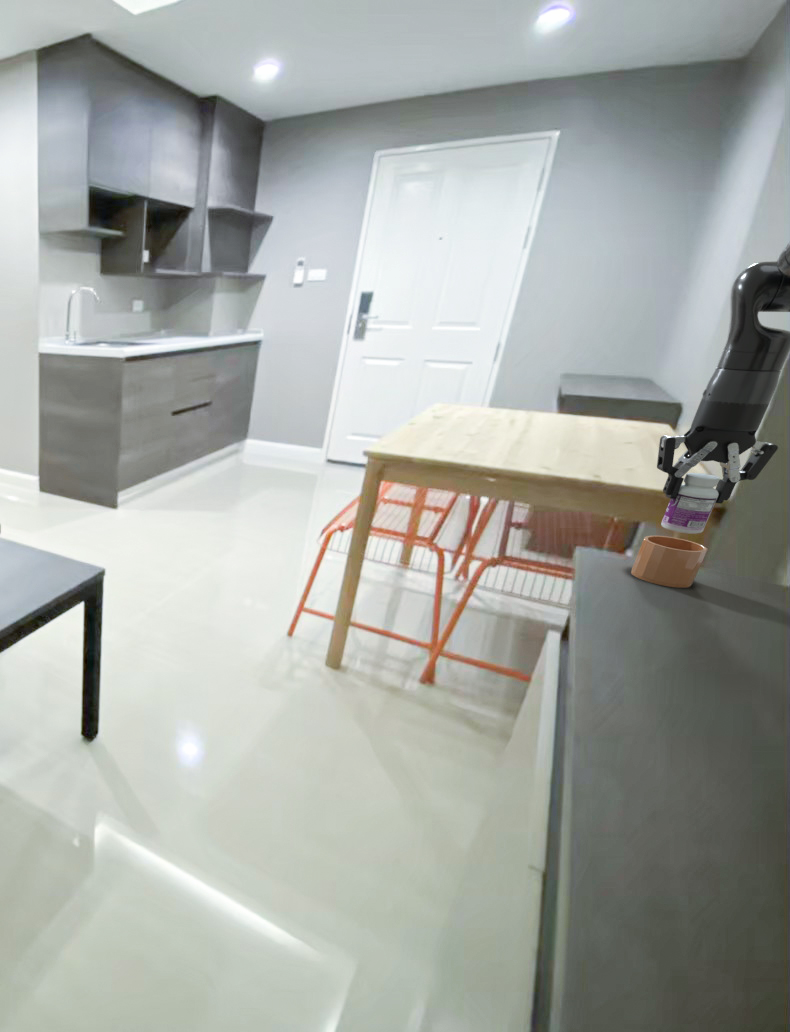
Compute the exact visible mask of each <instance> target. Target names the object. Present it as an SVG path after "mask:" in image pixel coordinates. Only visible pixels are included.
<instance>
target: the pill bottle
mask: <svg viewBox="0 0 790 1032" xmlns="http://www.w3.org/2000/svg"><path fill="white" fill-rule="evenodd" d="M684 476H685V477H683V478H684V480H683V482H684V483H682V484H681V487H680V489H679V492H678V494H677V497H676V498H675V499H671V498H670V500H669V501H668V505H667V507H666V509H665V512H664V515H663V518H662V520H661V523H660V525H661V527H662V528H663V529H665V530H669V531H672V532H676V533H681V534H688V535H689V534H691V535H697V534H701V533H703V532H704V531H705V527H706V525H707V523H708V520H709V518H710V515H711V513H712V511H713V510H714V506H715V504H716V503H715V502H716V500H717V498H718V495H719V494H718V491H717V490H716V486H717V484H718V482H719V479H721V478H720V477H719V476H717V475H713V474H708V473H699V472H687V473H686V474H685V475H684Z"/></svg>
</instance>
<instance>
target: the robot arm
mask: <svg viewBox="0 0 790 1032" xmlns="http://www.w3.org/2000/svg"><path fill="white" fill-rule="evenodd" d="M759 313H790V241H789V242H788V243H787V244H786V245H785V246H784V247H783V249H782V250H781V252H780V253H779V254H778V257H777V260H775V261H760V262H755V263H752V264H751V265H749V266H748V267H746V268H745V269H743V270H742V271H741V272H740V273H739V274H738V275H737V276H736V278H735V279H734V281H733V282H732V284H731V288H730V295H729V324H728V332H727V338H726V342H725V345H724V347H723V351H722V352H721V355H720V358H719V360H718V362H717V365H716V368H715V369H714V372H713V373H712V375H711V377H710V379H709V380H708V382H707V384H706V386H705V389H704V390H703V392H702V396H701V399H700V402H699V404H698V407H697V409H696V412H695V414H694V416H693V418H692V419H693V420H692V422H691V425H690V428H689V429H688V430H687V431H686V432H685V433H684V434H683V435H674V436H673V435H671V436H670V435H667V434H664V435H662V436H660V438H659V444H658V452H657V462H656V468H657V470H660V471H662V472H664V473H665V474H667V479H666V481H665V484H664V486H663V489H662V492H663V494H664V496H665V497H666V498H668V499H670V500H671V499H675V498H676V497H677V494H678V492H679V489H680V487H681V485H682V484H683V482H684V478H685V477H684V476H686V474H687V473H689V471H690V470H691V469H692V468H694V467H696V466H697V465H698V464H699V463H700V462H712V461H713V462H717V463H719V466H720V467H721V473H722V478H720V479H719V481H718V484H717V485H716V486H715V489H716V490H717V491H718V494H719V495H718V498H717V500H716V502H715V504H723V503H724V502H725V501H728V500H729V499H730V498H731V495H732V494H733V491H734V489H735V486H736V485H737V483H739V482H741V481H746V480H748V481H753V480H755V479H757V477H758V476H759V475H760V473H762V470H763V469H764V468H765V466H766V465H767V464H768V462H769V461H770V460H771V458H772V457H773V456H774V455H775V454H776V452H777V451H778V449H779V446H778V445H776V444H774V443H772V442H769V441H768V442H767V441H759V440H757V439H756V433H757V431H758V430H759V428H760V426H761V423H762V422H763V419H764V416H765V414H766V413H767V410H768V408H769V405H770V402H771V401H772V399H773V396H774V394H775V392H776V389H777V387H778V383H779V378H780V376H781V373H782V370H783V368H784V365H785V363H786V360H787V359H788V357H789V354H790V330H786V329H781V328H775V327H770V326H766V325H764V324H762V323H761V321H760V319H759ZM682 443H683V444H684V446H685V447H686V451H685V452H684V453H683V454H681V455H680V457H679V458H678V460H677V461H676V463H674V457H675V450H677V449H679V448H680V446H681V445H682ZM749 449H750V453H751V455H750V456H749V458H748V460H747V461H746V462H745V464H744V465H743V467H742V468H741V461H740V460H741V459H740V456H741V454H743V453H745V452H746V451H748V450H749ZM740 468H741V469H740Z"/></svg>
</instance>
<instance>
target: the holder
mask: <svg viewBox="0 0 790 1032" xmlns="http://www.w3.org/2000/svg"><path fill="white" fill-rule="evenodd" d="M707 552H708V547H706V546H705V545H703V544H701V543H697V542H694V541H691V540H688V539H683V538H679V537H674V536H666V535H647V536H644V538H643V540H642V543H641V545H640V548H639V550H638V552H637V555H636V557H635V560H634V562H633V565H632V568H631V571H630V574H631V575H632V576H634V577H635V578H637V579H639V580H642V581H644V582H647V583H651V584H655V585H659V586H664V587H669V588H679V589H680V588H681V589H683V588H685V589H686V588H690V587H692V586H693V584H694V581H695V578H696V577H697V575H698V572H699V570H700V569H701V568H700V567H701V565H702V562H703V561H704V560H705V559H704V558H705V557H706V554H707Z"/></svg>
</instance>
